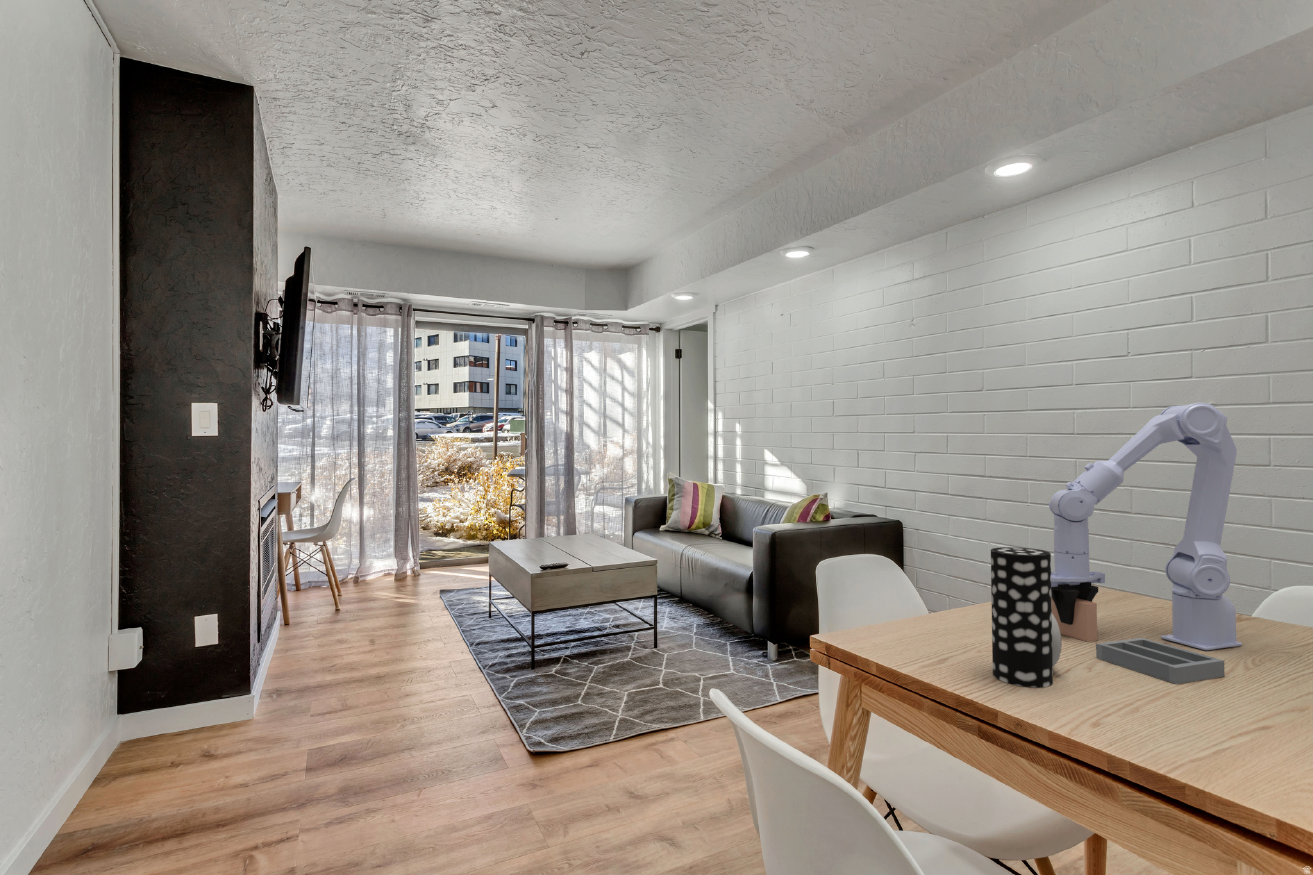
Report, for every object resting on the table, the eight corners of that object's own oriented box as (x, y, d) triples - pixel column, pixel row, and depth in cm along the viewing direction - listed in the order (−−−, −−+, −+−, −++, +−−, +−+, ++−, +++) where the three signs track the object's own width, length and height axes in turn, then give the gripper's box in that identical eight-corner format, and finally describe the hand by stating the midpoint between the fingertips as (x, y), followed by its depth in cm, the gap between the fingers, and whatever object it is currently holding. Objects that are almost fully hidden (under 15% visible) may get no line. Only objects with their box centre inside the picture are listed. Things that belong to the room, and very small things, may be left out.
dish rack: (1141, 651, 115) (1141, 637, 115) (1224, 676, 103) (1224, 660, 103) (1096, 657, 112) (1096, 643, 112) (1176, 684, 99) (1175, 667, 99)
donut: (1066, 678, 103) (1065, 614, 103) (1042, 676, 103) (1041, 613, 103) (1040, 657, 112) (1039, 599, 113) (1018, 656, 113) (1017, 599, 113)
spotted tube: (980, 673, 105) (978, 549, 105) (1017, 666, 108) (1015, 545, 108) (1027, 691, 97) (1025, 557, 98) (1065, 682, 100) (1063, 553, 101)
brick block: (1059, 629, 129) (1058, 593, 130) (1097, 640, 122) (1096, 603, 122) (1049, 630, 129) (1049, 594, 129) (1087, 641, 121) (1086, 604, 121)
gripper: (1081, 546, 131) (1082, 614, 131) (1024, 550, 127) (1025, 620, 127) (1114, 552, 125) (1116, 623, 125) (1056, 556, 120) (1057, 630, 120)
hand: (1072, 622), depth 125 cm, fingers closed on brick block, 2 cm apart
